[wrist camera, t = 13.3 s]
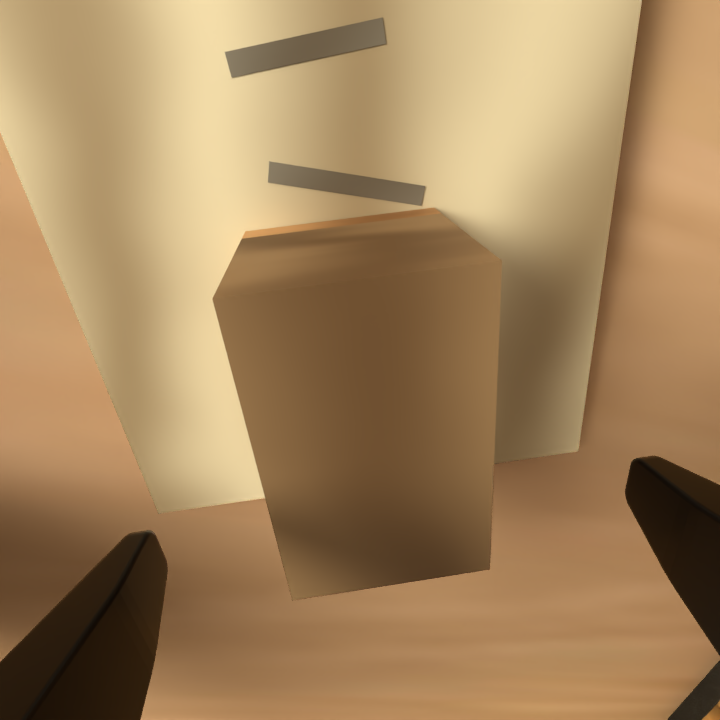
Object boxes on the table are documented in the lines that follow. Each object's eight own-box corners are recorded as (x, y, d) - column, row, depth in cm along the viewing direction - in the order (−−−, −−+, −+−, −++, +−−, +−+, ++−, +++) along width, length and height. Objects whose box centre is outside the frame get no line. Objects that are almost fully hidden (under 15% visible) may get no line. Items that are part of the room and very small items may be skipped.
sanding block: (296, 467, 16) (292, 600, 12) (245, 231, 12) (212, 298, 8) (440, 445, 16) (490, 569, 12) (433, 207, 13) (502, 260, 8)
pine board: (169, 484, 18) (158, 514, 17) (-233, -561, 8) (-347, -704, 6) (558, 427, 18) (578, 452, 17) (677, -616, 8) (749, -758, 7)
